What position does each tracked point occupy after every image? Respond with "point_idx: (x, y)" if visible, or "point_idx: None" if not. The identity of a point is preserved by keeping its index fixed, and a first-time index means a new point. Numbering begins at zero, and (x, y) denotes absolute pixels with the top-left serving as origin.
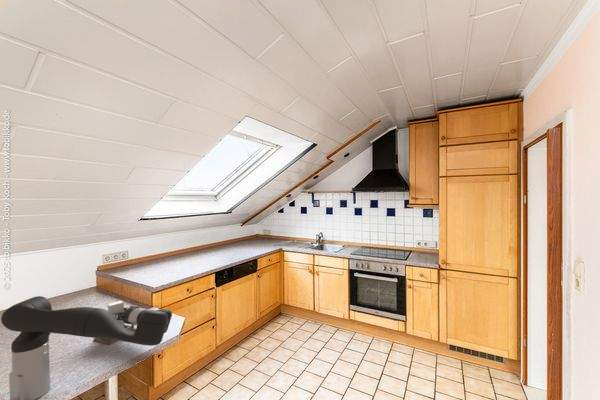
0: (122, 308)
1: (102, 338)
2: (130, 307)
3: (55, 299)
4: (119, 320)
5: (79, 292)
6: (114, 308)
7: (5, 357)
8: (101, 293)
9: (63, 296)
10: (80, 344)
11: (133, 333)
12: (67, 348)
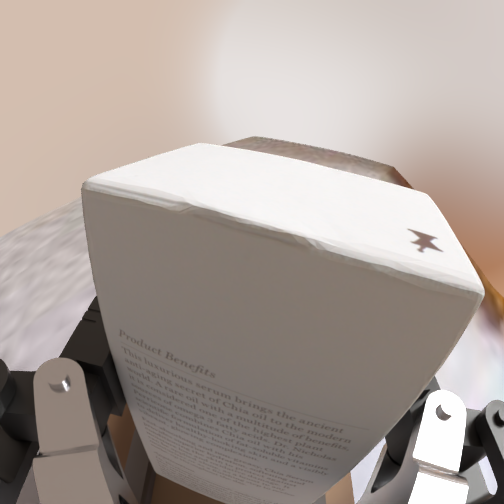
0: (356, 422)
1: (127, 437)
2: (483, 434)
3: (318, 151)
4: (239, 487)
5: (361, 160)
6: (169, 312)
7: (41, 215)
8: (393, 180)
9: (334, 153)
10: None
11: None
12: (50, 320)
